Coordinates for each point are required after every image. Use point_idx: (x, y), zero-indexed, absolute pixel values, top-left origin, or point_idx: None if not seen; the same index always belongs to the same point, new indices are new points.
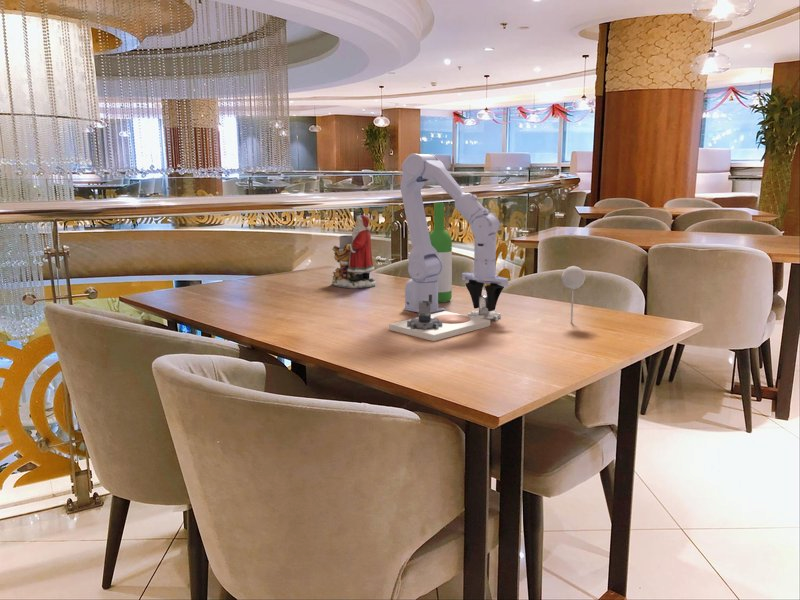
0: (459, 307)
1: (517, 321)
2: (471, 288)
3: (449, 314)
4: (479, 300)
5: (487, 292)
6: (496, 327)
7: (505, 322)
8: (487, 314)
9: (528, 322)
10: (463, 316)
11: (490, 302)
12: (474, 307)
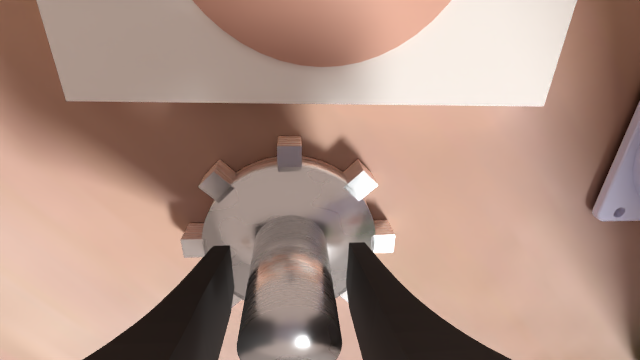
0: (543, 308)
1: (101, 288)
2: (417, 355)
3: (441, 9)
4: (309, 284)
5: (151, 355)
6: (32, 91)
7: (121, 231)
8: (254, 239)
9: (46, 307)
10: (299, 35)
11: (176, 287)
12: (358, 244)
